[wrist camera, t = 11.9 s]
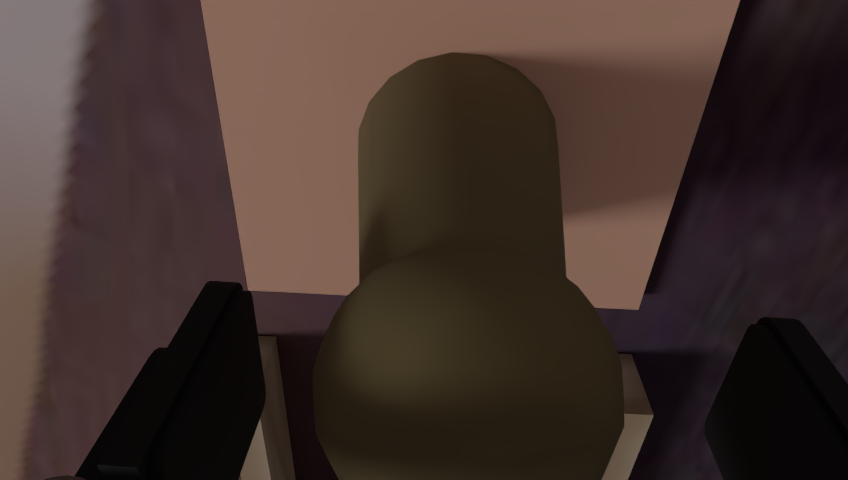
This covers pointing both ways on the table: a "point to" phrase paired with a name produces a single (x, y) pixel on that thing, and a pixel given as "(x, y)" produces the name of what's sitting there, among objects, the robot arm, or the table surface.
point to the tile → (471, 34)
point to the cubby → (271, 449)
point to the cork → (464, 295)
